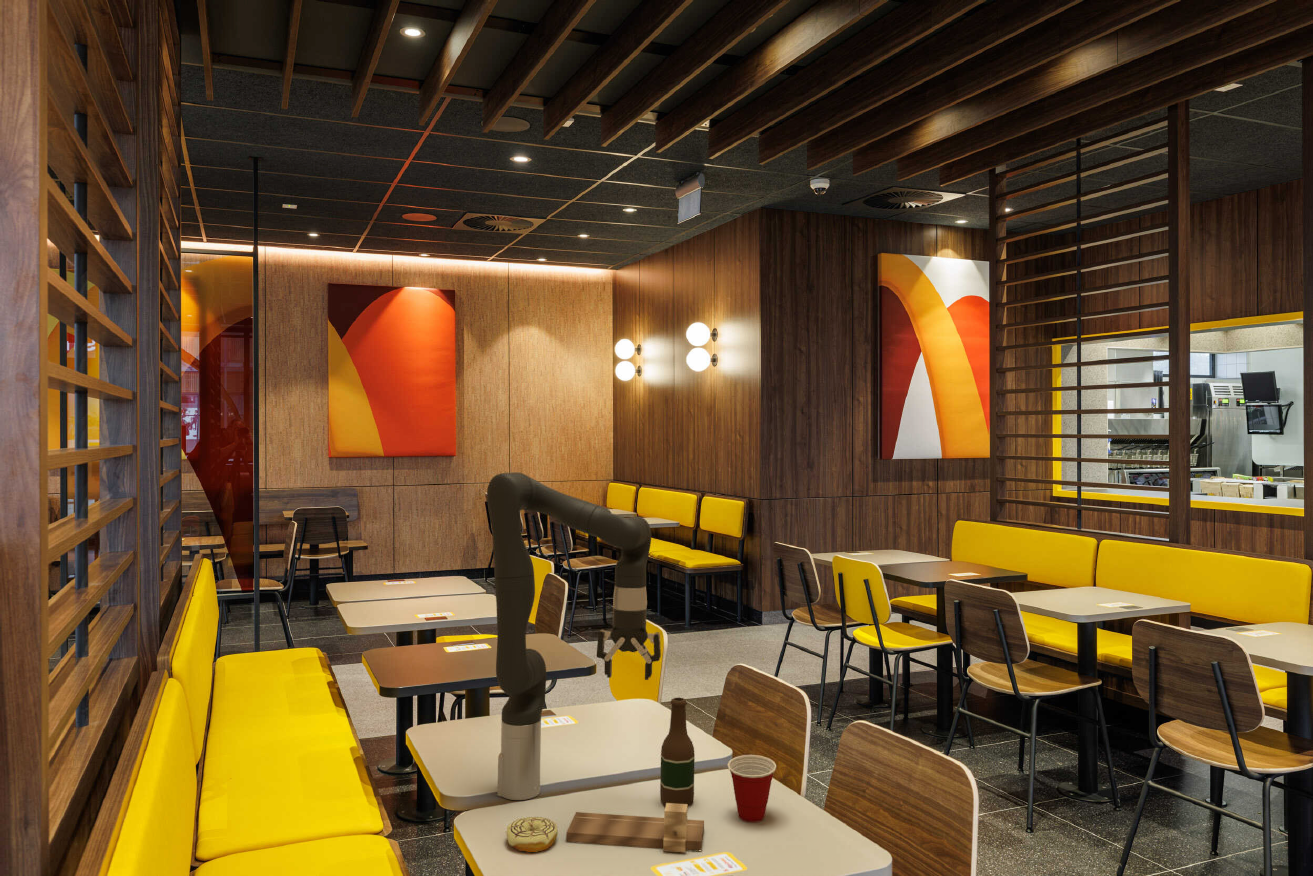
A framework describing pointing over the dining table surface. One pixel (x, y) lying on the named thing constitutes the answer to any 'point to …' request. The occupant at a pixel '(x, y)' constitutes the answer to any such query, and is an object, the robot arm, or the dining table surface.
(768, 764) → the plastic cup
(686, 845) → the board
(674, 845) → the block
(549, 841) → the decorated donut
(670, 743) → the beer bottle
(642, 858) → the dining table surface
